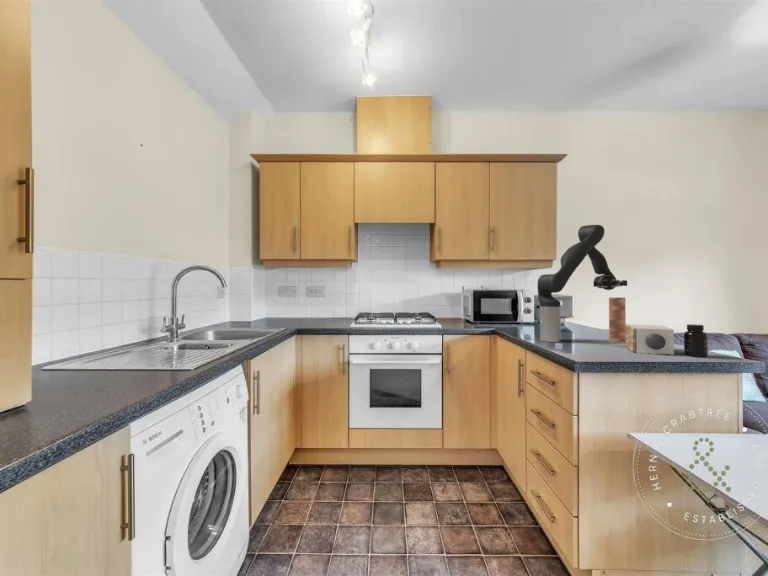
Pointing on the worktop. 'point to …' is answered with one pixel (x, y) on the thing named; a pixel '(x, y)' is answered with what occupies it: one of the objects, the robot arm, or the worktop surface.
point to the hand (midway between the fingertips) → (611, 284)
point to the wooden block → (620, 324)
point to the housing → (654, 339)
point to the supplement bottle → (695, 341)
